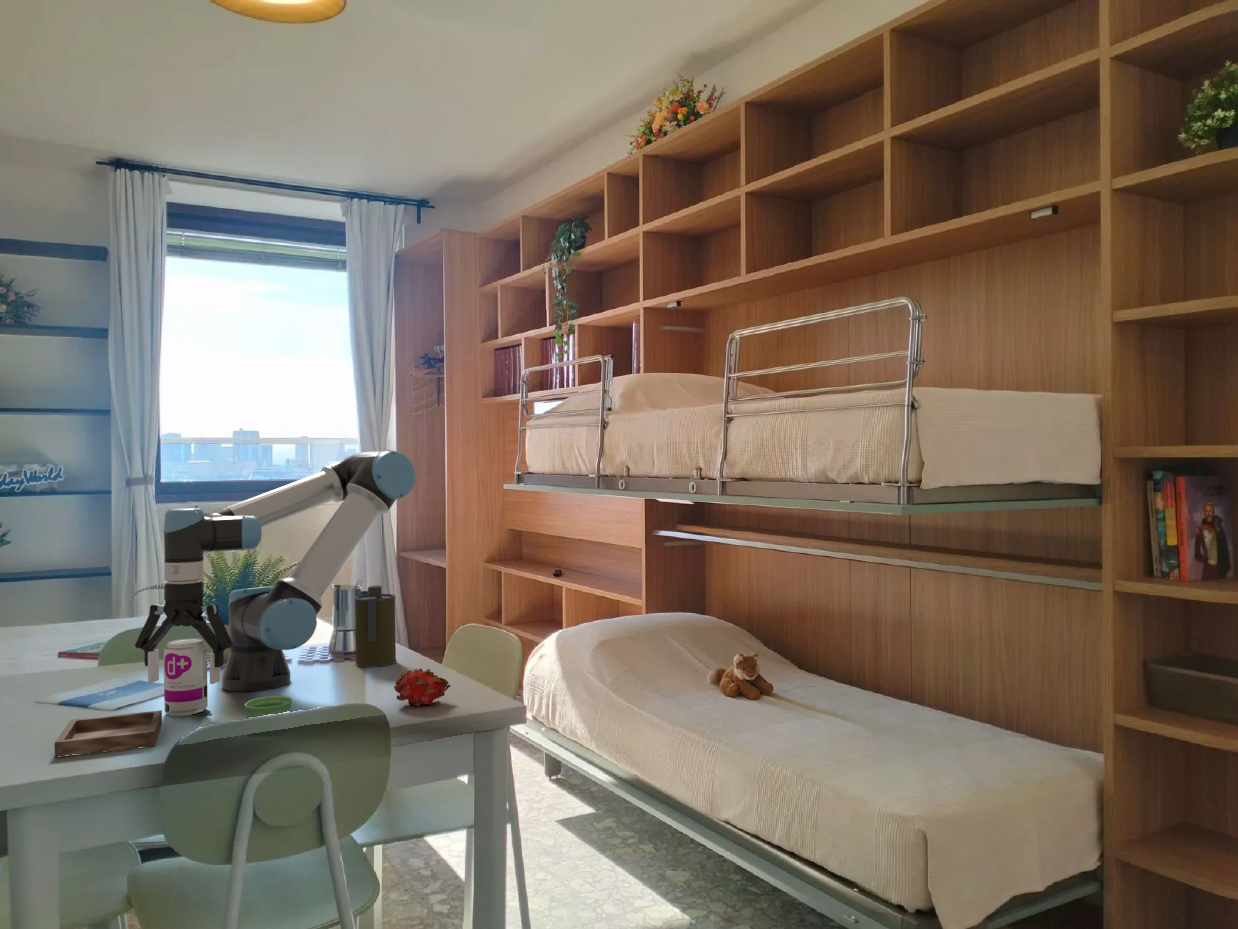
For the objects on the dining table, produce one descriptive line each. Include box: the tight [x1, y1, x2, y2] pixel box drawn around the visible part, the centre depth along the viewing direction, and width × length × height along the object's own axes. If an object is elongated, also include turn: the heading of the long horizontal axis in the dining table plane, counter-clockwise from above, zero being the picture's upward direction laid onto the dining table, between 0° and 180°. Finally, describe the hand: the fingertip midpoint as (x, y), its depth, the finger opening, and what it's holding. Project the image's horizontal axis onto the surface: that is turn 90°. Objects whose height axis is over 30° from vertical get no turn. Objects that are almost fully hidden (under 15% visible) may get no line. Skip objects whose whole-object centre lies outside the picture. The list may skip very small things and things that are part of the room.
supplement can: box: [163, 637, 209, 718], centre depth 194 cm, size 8×8×15 cm
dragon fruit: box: [393, 668, 451, 707], centre depth 198 cm, size 8×8×12 cm
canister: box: [354, 584, 397, 669], centre depth 239 cm, size 11×10×20 cm
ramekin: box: [244, 695, 293, 719], centre depth 186 cm, size 9×9×4 cm
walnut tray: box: [54, 710, 163, 758], centre depth 175 cm, size 16×16×3 cm
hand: (184, 682), depth 194 cm, fingers open, 13 cm apart
